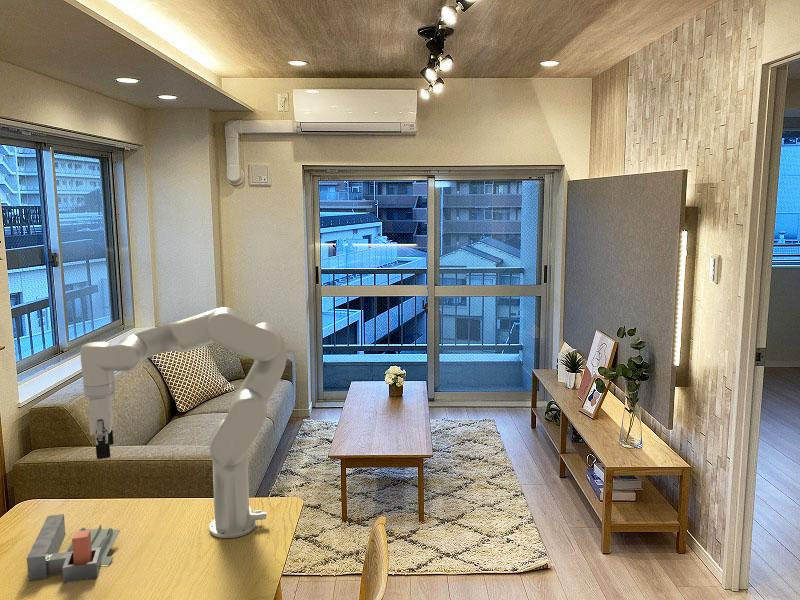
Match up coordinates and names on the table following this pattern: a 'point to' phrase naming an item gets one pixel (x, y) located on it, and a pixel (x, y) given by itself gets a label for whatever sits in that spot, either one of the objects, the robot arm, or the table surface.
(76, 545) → the red rectangular block
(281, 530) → the table surface
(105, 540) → the metal bracket
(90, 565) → the grey socket fixture
